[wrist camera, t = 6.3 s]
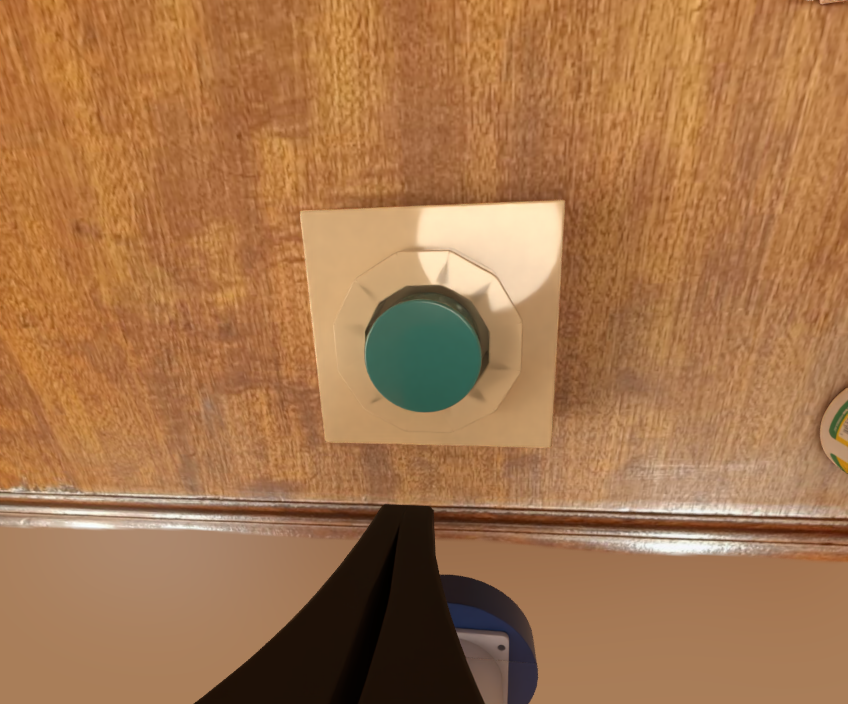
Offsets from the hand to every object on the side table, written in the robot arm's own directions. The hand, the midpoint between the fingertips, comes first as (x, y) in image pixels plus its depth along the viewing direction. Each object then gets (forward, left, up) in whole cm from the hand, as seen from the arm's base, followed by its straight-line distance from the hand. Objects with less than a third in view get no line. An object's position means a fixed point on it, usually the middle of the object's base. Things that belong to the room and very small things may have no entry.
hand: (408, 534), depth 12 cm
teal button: (+4, 0, -6) cm, 7 cm away
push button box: (+4, 0, -10) cm, 11 cm away
